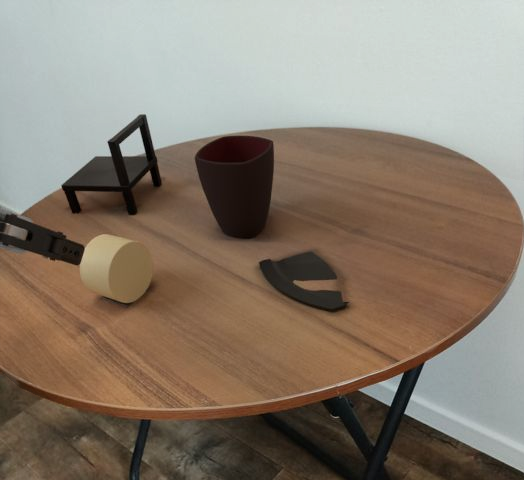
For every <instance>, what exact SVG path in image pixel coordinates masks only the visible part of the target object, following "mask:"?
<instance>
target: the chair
mask: <svg viewBox="0 0 524 480" xmlns="http://www.w3.org/2000/svg"><path fill="white" fill-rule="evenodd" d="M138 129H139V133H140V136H141V141H142V145H143V148H144V153H145V156H144V155H143V156H141V155H138V156H137V155H136V156H135V155H134V156H133V155H124V156H123V152H122V150H121V149H122V148H121V147H120V145H121V144H122V143H123V142H124V141H125V140H126V139H128V138H129V137H130V136H131V135H132V134H133V133H134V132H135V131H137V130H138ZM107 145H108V149H109V152H110V156H106V155H105V156H104V155H103V156H101V155H100V156H99V155H96V156H94V157H93V158H92V159H90V160H89V161H88V162H87V163H85V165H84V166H82V167H81V168H80V169H78V171H76V172H75V173H74V174H73V175H71V177H69V178H68V179H67V180H66V181H64V182H63V183H62V184H61V185H60V186H61V189H62V191H63V193H64V195H65V198H66V201H67V203H68V206H69V209H70V211H71V214H79V213H80V212H82V207H81V203H80V202H79V199H78V196H77V193H76V192H92V193H93V192H96V193H97V192H99V193H100V192H101V193H122V198H123V200H124V204H125V207H126V210H127V211H126V212H127V214H128V215H129V216H136V214H137V213H138V212H139V211H138V207H137V203H136V200H135V196H134V192H133V190H132V189H134V187H135V186H136V185H137V184H138V183H139V182H140V181H141V180H142V179H143V178H144V177H145V176H146V175H147V174H148V173H150V177H151V182H152V185H153V187H156V188H159V187H161V186H162V185H163V181H162V177H161V173H160V168H159V165H158V164H159V163H158V158H157V156H156V152H155V148H154V143H153V139H152V135H151V130H150V126H149V123H148V118H147V114H145V113H144V114H140V113H139V114H138V115H137V116H136V118H134V119H133V120H132V121H131V122H129V123H128V124H127V125H126V126H124V127H123V128H122V129H121V130H119V132H117V133H116V134H115V135H114V136H113V137H111V138H110V139H108V140H107Z"/></svg>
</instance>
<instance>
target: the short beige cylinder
mask: <svg viewBox="0 0 524 480" xmlns="http://www.w3.org/2000/svg"><path fill="white" fill-rule="evenodd" d="M84 248H85V250H84V254H83V257H82V261H81V263H80V264H79V275H80V278H81V281H82V283H83V285H84V287H85V288H86V289H87V290H88V291H89V292H91V293H93V294H95V295H99V296H100V299H103V300H105V301H109V302H112V303H114V304H118V305H121V306H124V307H127V308H128V307H130V306H131V305H132V304H134V303H135V302H137V300H139V299H140V298H141V297H142V296H143V295H144V294H146V293H147V292H149V290H151V287H150V284H151V281H152V279H153V273H154V261H153V257H152V253H151V251H150V250H149V248H148V247H147V246H146V245H145V244H144V243H142V242H140V241H137V240H133V239H129V238H125V237H120V236H117V235H114V234H113V235H112V234H109V233H103V234H99V235H97V236H95V237H93V238H92V239H91V240H90V241H89V242H88V243H87V244H86V246H85V247H84Z"/></svg>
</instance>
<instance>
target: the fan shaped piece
mask: <svg viewBox="0 0 524 480" xmlns="http://www.w3.org/2000/svg"><path fill="white" fill-rule="evenodd" d="M258 265H259V268H260V270H261V273H262V275H263V276H264V278H265V279H266V281H267V282H268V283H269V284H270V286H272V287H273V288H274V289H275V290H276V291H278V292H279V293H280V294H282V295H284V296H285V297H287V298H288V299H291V300H293V301H294V302H296V303H299V304H302V305H304V306H307V307H310V308H314V309H317V310H320V311H326V312H328V313H329V312H330V313H337V312H339V311H342V310H345V309H346V307H347V305H348V304H350V301H343V297H342V292H341V291H340V290H331V289H318V290H313V289H308V288H303V287H301V286H299V285H297V284H295V283H294V282H295V281H298V282H310V281H311V282H312V281H315V282H316V281H333V280H338V276H337V274H336V272H334V270H333V269H332V268H331V267H330V266H329V264H328V262H326V261H325V260H324V259H322V258H321V257H319V255H317V254H316V253H315V252H313V251H305V252H302V253H298V254H294V255H292V256H289V257H284V258H282V259H280V260H273V259H271V258H266V259H262V260H260V261H259V262H258Z"/></svg>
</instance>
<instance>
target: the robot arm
mask: <svg viewBox="0 0 524 480" xmlns="http://www.w3.org/2000/svg"><path fill="white" fill-rule="evenodd" d="M85 248H86V247H85V245H84V244H82V243H80V242H77V241H73V240H71V239H68V238H67V235H66V234H64V232H61V231H59V230H57V231H56V230H52V229H50V228H47V227H45V226H43V225H39V224H37V223H34V221H33V220H32V219H31V218H29V217H27V216H24V215H21V214H19V213H15V212H12V211H9V210H6V209H4V208H2V206H0V249H2V250H5V251H8V252H11V253H15V254H18V255H23V254H25V253H27V252H29V253H33V254H36V255H39V256H42V258H43V259H46V260H50V261H54V262H56V261H58V262H59V261H61V262H63V263H67V264H70V265H73V266H80V263H81V261H82V257H83V254H84V250H85Z"/></svg>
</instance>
